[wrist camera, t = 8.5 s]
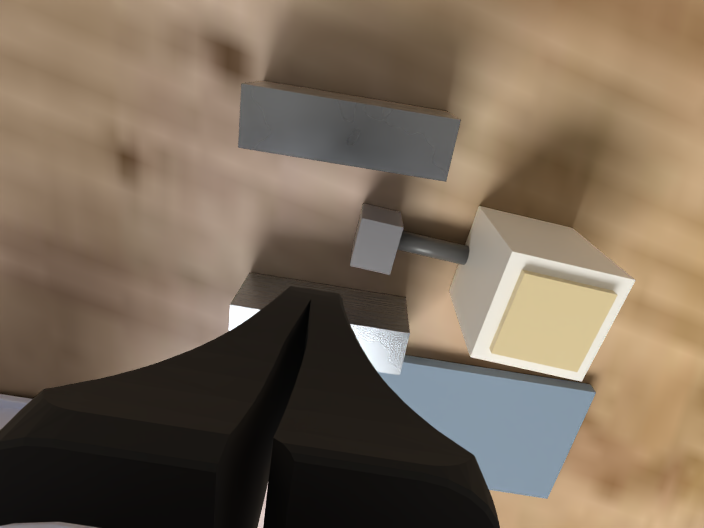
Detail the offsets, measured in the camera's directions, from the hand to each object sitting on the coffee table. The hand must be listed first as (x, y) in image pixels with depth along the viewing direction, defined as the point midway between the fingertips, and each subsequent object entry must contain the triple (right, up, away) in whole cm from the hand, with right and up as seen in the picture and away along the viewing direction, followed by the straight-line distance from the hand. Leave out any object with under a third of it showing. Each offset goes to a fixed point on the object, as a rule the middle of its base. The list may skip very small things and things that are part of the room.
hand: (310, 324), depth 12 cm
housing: (0, +3, +8) cm, 8 cm away
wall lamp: (+5, +2, +8) cm, 10 cm away
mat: (+5, -6, +12) cm, 14 cm away
